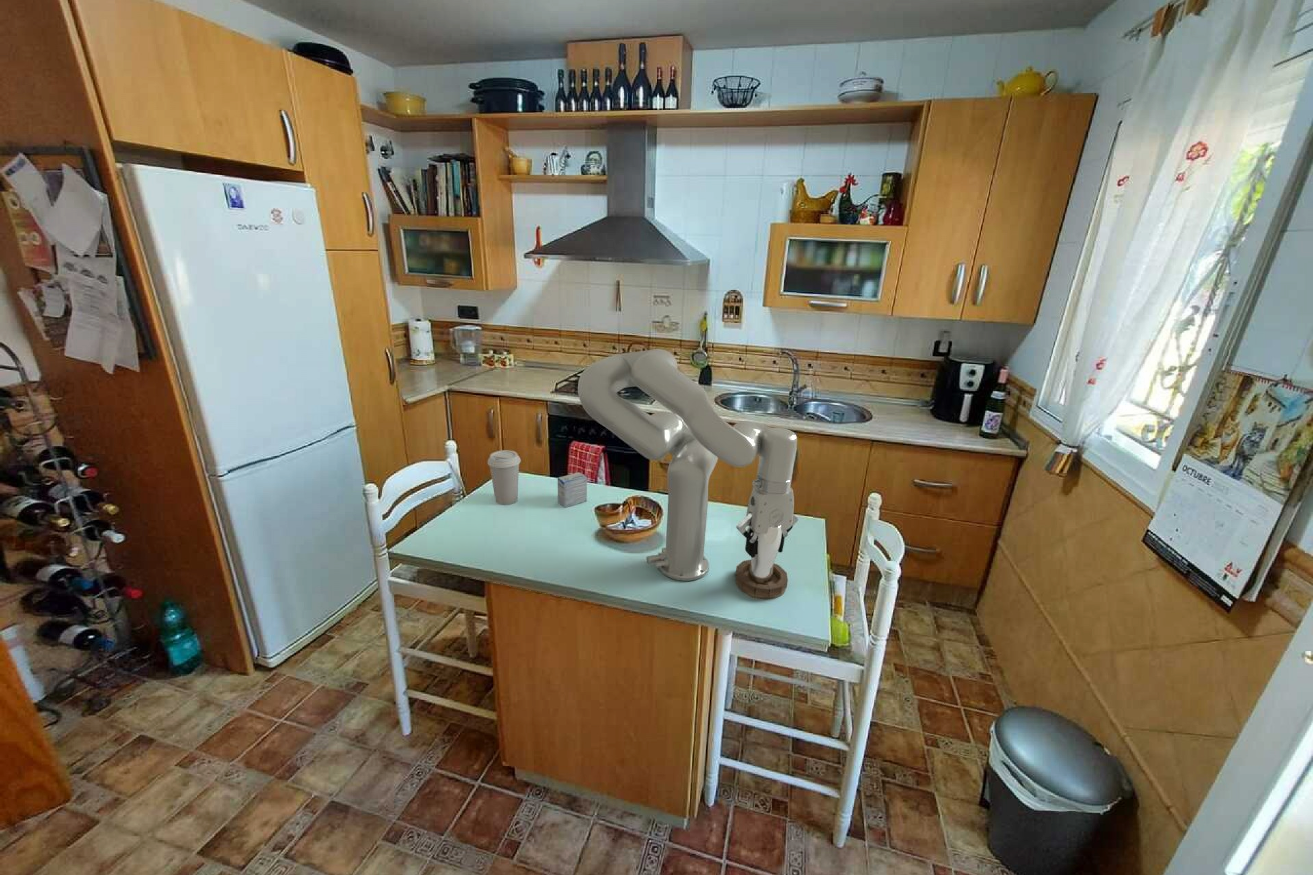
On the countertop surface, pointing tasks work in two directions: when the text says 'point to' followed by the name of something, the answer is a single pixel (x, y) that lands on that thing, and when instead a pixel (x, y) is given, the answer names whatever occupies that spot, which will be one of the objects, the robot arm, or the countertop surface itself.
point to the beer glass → (765, 555)
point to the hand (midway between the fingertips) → (763, 551)
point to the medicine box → (572, 489)
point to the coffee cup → (505, 476)
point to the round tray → (761, 589)
